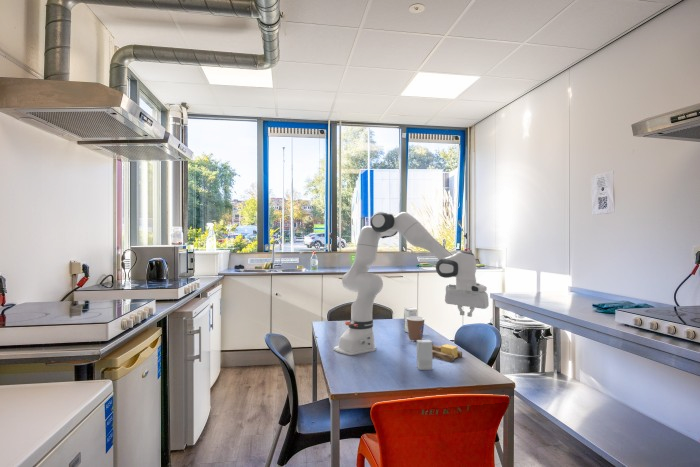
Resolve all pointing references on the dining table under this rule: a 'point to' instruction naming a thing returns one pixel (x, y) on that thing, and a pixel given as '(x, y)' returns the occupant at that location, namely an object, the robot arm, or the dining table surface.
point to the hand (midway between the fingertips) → (465, 315)
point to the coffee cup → (415, 327)
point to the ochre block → (450, 350)
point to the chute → (443, 354)
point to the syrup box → (408, 313)
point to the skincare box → (424, 354)
